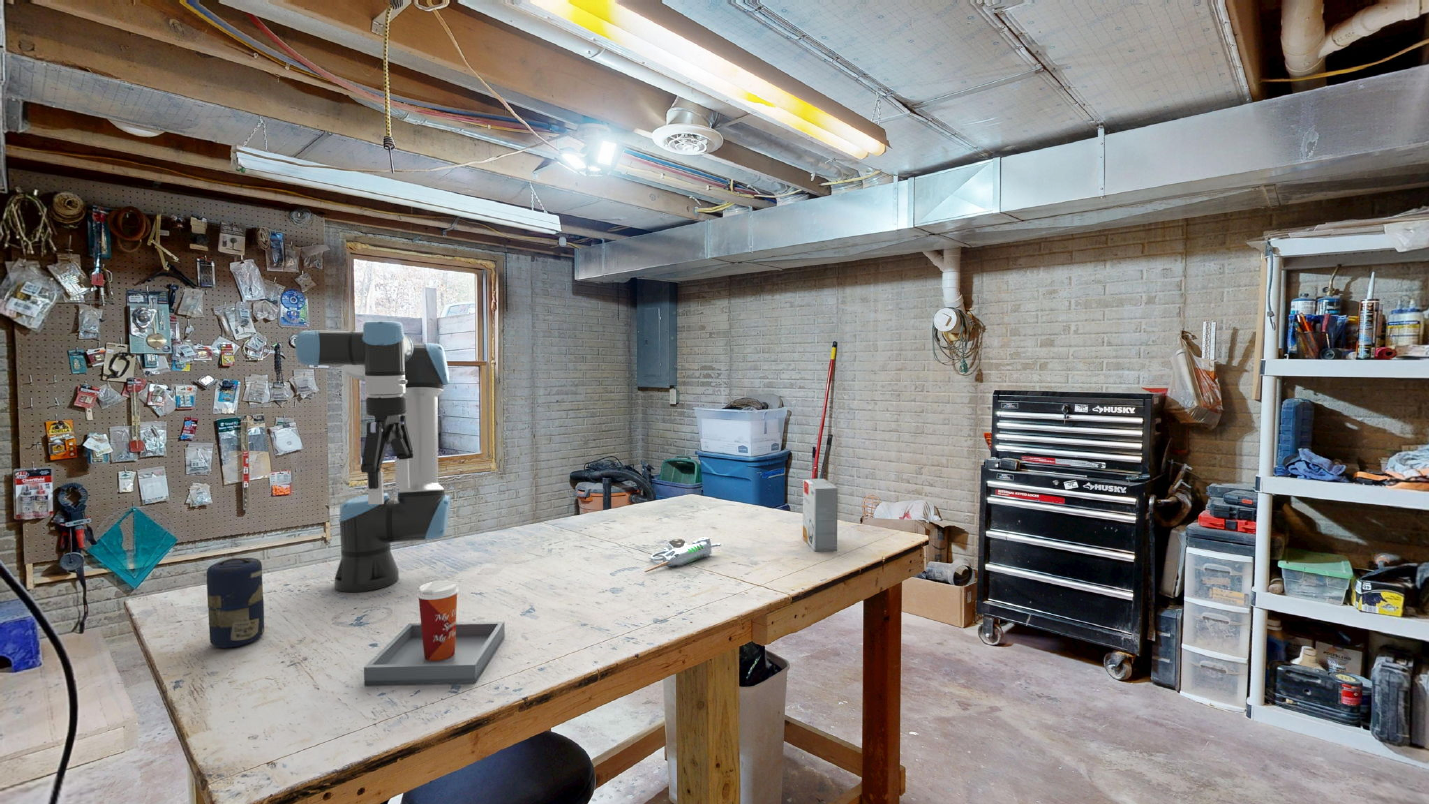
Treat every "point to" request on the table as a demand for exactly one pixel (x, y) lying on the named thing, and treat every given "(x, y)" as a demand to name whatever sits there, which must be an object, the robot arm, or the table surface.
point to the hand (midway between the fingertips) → (390, 495)
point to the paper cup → (438, 618)
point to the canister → (235, 602)
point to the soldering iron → (683, 552)
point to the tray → (410, 667)
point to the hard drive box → (820, 514)
